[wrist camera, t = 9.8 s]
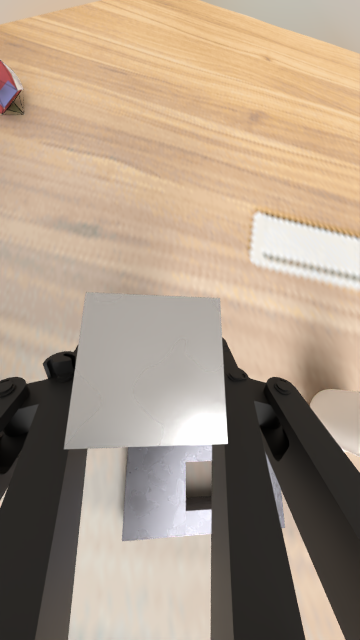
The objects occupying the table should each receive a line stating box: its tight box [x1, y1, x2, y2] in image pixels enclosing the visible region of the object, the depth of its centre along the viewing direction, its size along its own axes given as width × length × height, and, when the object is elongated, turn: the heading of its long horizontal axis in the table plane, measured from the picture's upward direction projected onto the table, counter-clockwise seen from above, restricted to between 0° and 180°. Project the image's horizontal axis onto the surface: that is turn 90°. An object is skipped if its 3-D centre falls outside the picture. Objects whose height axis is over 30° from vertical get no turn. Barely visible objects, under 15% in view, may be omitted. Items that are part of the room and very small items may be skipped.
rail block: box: [122, 444, 285, 541], centre depth 26 cm, size 20×10×2 cm, turn 90°
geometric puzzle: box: [0, 60, 25, 115], centre depth 37 cm, size 7×7×8 cm
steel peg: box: [64, 292, 228, 449], centre depth 12 cm, size 4×4×13 cm
